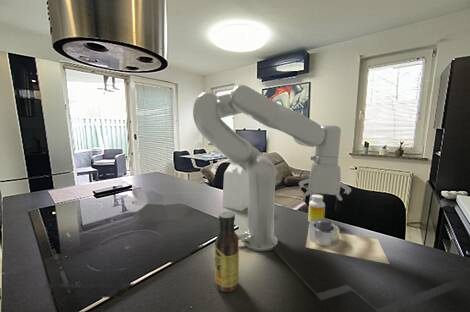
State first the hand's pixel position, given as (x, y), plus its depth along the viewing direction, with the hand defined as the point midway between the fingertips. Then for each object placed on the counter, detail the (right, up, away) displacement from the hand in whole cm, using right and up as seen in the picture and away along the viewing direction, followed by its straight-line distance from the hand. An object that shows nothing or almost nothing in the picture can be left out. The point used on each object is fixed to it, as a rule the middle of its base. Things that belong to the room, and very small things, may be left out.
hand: (321, 207), depth 76 cm
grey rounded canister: (+1, -11, +1) cm, 11 cm away
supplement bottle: (+4, -12, +17) cm, 21 cm away
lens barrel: (+1, -12, +1) cm, 12 cm away
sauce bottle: (-34, -16, -20) cm, 42 cm away
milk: (-30, -9, +41) cm, 52 cm away
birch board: (+7, -13, -1) cm, 15 cm away
